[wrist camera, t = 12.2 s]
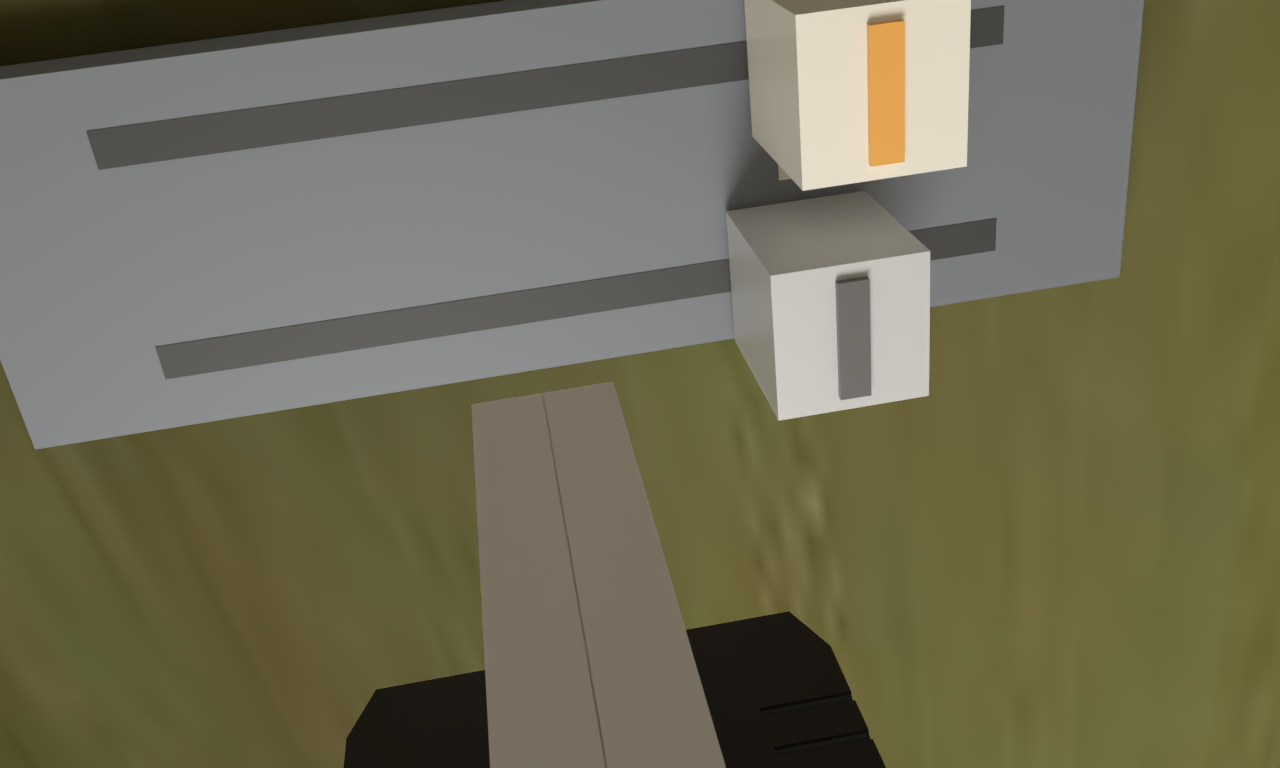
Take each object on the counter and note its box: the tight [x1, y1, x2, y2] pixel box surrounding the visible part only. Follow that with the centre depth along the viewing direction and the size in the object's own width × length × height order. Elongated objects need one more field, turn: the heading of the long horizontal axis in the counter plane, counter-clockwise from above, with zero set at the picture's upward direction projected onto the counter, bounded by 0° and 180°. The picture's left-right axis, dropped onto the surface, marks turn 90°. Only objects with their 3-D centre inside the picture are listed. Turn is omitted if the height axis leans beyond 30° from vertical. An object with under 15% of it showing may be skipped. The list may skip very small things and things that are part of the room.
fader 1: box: [744, 0, 971, 191], centre depth 29 cm, size 4×4×5 cm
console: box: [0, 0, 1144, 449], centre depth 33 cm, size 10×32×2 cm, turn 96°
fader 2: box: [726, 191, 930, 421], centre depth 32 cm, size 4×4×5 cm
